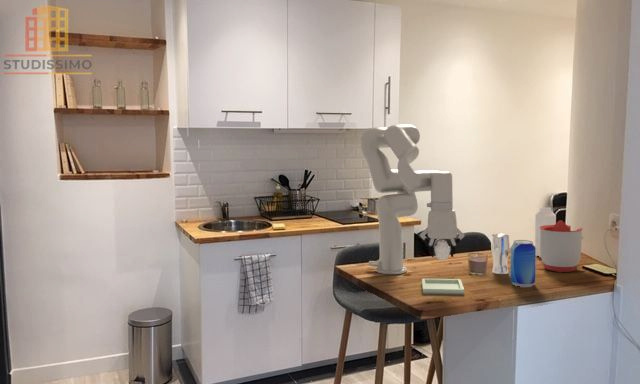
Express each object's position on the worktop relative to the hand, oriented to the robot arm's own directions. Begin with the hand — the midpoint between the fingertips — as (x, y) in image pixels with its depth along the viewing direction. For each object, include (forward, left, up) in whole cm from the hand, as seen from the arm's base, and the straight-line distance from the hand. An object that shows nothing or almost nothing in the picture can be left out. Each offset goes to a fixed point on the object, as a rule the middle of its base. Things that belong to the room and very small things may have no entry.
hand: (442, 255), depth 192 cm
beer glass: (+24, +25, -12) cm, 37 cm away
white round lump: (0, 0, -1) cm, 1 cm away
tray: (0, 0, -12) cm, 12 cm away
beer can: (+29, +7, -12) cm, 32 cm away
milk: (+48, +55, -12) cm, 74 cm away
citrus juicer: (+49, +32, -12) cm, 60 cm away
